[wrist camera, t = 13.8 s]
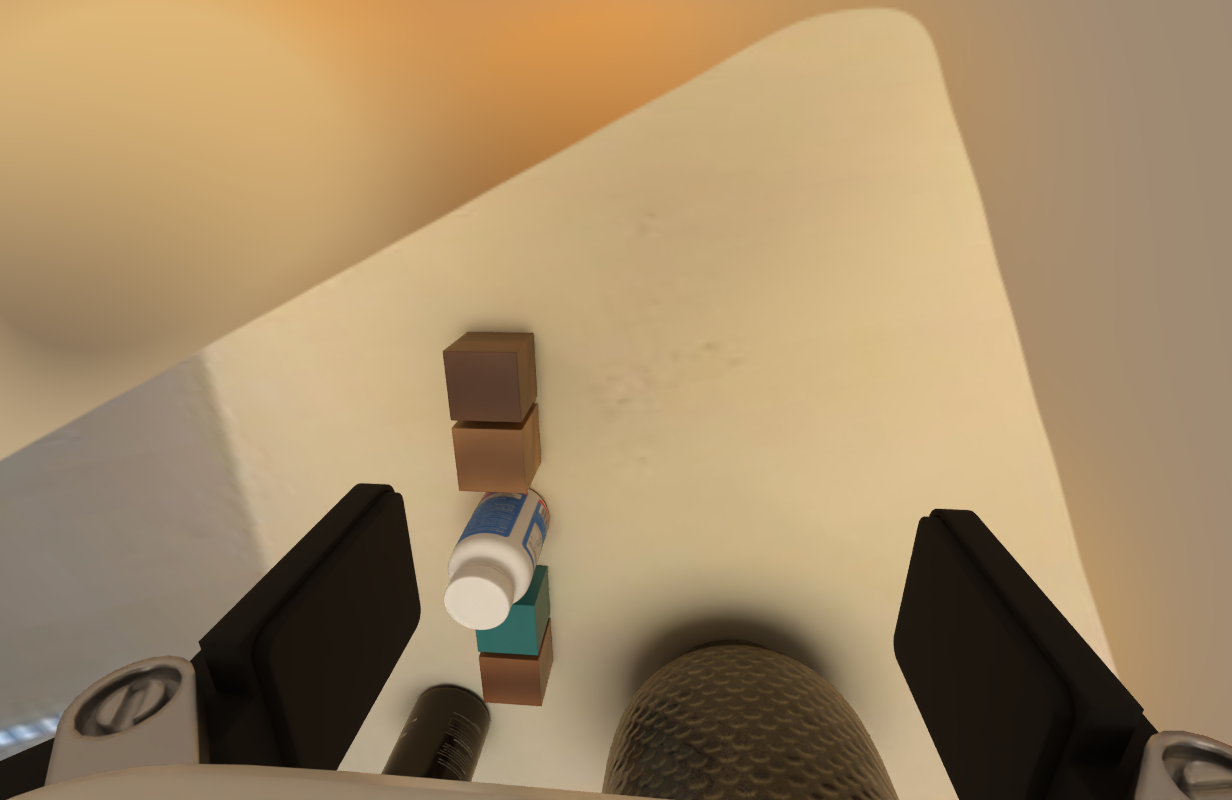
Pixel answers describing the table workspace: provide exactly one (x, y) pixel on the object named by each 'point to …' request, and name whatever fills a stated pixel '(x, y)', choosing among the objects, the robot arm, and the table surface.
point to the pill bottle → (495, 558)
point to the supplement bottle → (441, 737)
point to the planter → (742, 733)
